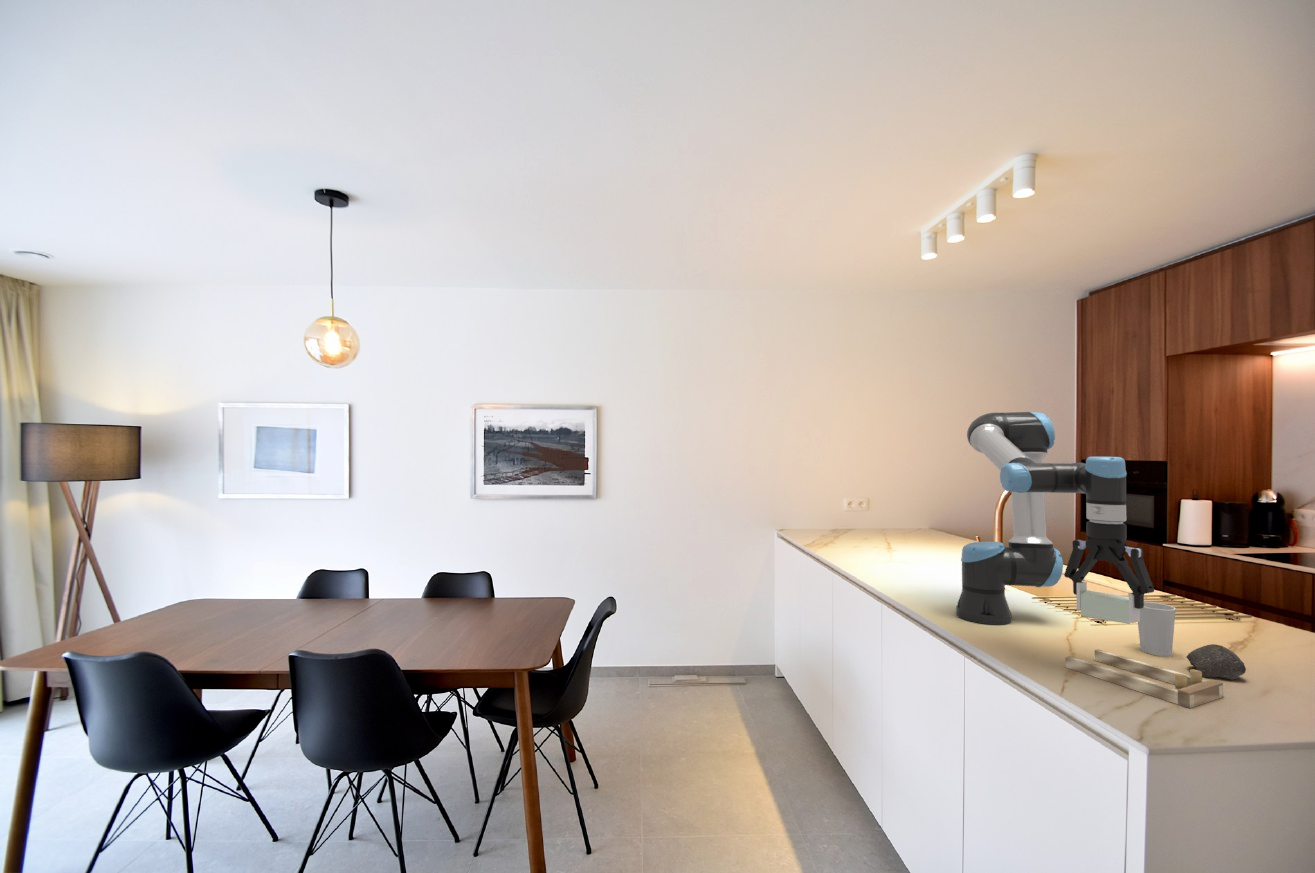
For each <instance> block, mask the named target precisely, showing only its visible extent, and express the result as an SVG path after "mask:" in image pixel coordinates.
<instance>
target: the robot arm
mask: <svg viewBox="0 0 1315 873" xmlns="http://www.w3.org/2000/svg"><path fill="white" fill-rule="evenodd" d="M966 432H967V433H966V437H967V441H968V443H969V445H970V446H971V447H972V449H974V451H976V452H978V453H982V454H983V455H984V456H985V457H987V459H988V460H989V461H990V462H992V464H993V465H994V466H995V467H996V468H997V469H998V470H999V471H1000V474H999V480H1000V483H1001V487H1002V488H1003V489H1004V490H1005V491H1007V492H1010V493H1011V507H1012V527H1013V536H1012V537H1011V538H1010V539H1009V540H1008V546H1005V545H1004V543H1002V541H1001V542H1000V541H988V540H987V541H976V542H975V541H974V542H970V543H967V544H965V545H963V547H962V549H961V559H960V561H961V582H962V583H961V593H960V596H959V599H958V601H957V605H956V608H955V613H956V614H955V615H956V616H957V617H958V618H960V619H961V620H965V621H969V622H973V623H978V624H984V625H1008V624H1010V623H1012V621H1013V619H1012V611H1011V610H1010V606H1009V603H1008V601H1007V598H1006V594H1005V589H1006V588H1005V586H1015V587H1016V586H1017V587H1019V586H1021V587H1034V588H1044V587H1045V588H1047V587H1053V586H1055V585H1056V584H1058V583H1059V581H1060V580H1061V577H1062V574H1063V570H1064V569H1063V568H1064V561H1063V557H1062V554H1061V552H1060V550H1059V549H1057V548H1055V547H1054V543H1053V542H1052V541H1051V540H1050V539H1049V538H1048V537H1047V524H1046V522H1047V521H1046V507H1045V506H1046V505H1045V493H1051V494H1052V493H1056V494H1062V493H1063V494H1085V496H1086V500H1085V502H1086V503H1085V504H1086V505H1085V506H1086V512H1085V513H1086V514H1085V515H1086V517H1085V518H1086V519H1087V520H1088V521H1086V523H1085V524H1086V528H1085V529H1086V530H1085V532H1086V533H1085V534H1086V537H1087V538H1086V540H1083V539H1076V540H1072V551H1071V554H1070V556H1069V559H1068V562H1067V566H1066V568H1065V571H1064V577H1065V578H1066V579H1067V578H1068V579H1069V580H1071V581H1072V589H1073V590H1072V591H1073V592H1072V593H1073V594H1074V595H1076V610H1078V611H1081V594H1082V593H1084V592H1085V591H1087V589H1088V588H1087V584H1088V583H1087V582H1086V581H1085V578H1086V576H1087V575H1088V574H1089V572H1090V571H1091V570H1092V568H1094V566H1095V565H1096V563H1097V562H1098V561H1104V562H1107V563H1112V564H1113V565H1114V566H1115V567H1116V568H1117V570H1118V571H1119V572H1120V574H1121V576H1122V577H1123V579H1124V580H1125V583H1126V585H1128V587H1129V589H1130V590H1131V592H1129V593H1128V597H1129V622H1130V624H1136V623H1138V622H1140V609H1141V608H1143V607H1144V602H1145V600H1144V598H1145V597H1144V596H1145V594H1151V593H1154V592H1155V588H1154V585H1153V583H1152V580H1151V578H1150V575H1149V572H1148V568H1147V565H1146V564H1145V561H1144V550H1143V548H1141V547H1137V548H1135V547H1129V546H1128V544H1127V536H1128V535H1127V524H1126V523H1124V522H1127V518H1128V517H1127V474H1128V473H1127V470H1126V469H1127V468H1126V461H1125V459H1124V458H1123V457H1120V456H1088V457H1086V460H1085V463H1084V462H1071V463H1068V462H1067V463H1064V462H1063V463H1062V462H1061V463H1058V462H1057V463H1055V462H1054V463H1052V462H1051V463H1047V462H1043V459H1044V458H1045V457H1047V456H1048V450H1051V448H1052V447H1053V446H1054V444H1055V440H1056V432H1055V428H1054V425H1053V422H1052V420H1051V419H1050V418H1049V416H1048V415H1047V414H1045V413H1042V412H1035V411H1023V412H1022V411H1018V412H1010V411H1009V412H988V413H985V414H982V415H980V416H978V417H977V418H975V419H974V420H973V421H972V422H971V423H970V425H969V427H968V429H967V431H966ZM1086 549H1088V551H1089V553H1087V555H1086V557H1085V559H1084V561H1083V562H1082V564H1081V565H1080V562H1081V561H1082V558H1083V554H1084V551H1085V550H1086ZM1125 554H1128V556H1129V557H1130V561H1131V565H1132V567H1133V570H1134V571H1133V570H1132V568H1131V567H1130V565H1129V561H1128V559H1127V558H1126V557H1125ZM1134 572H1135V573H1134Z"/></svg>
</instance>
